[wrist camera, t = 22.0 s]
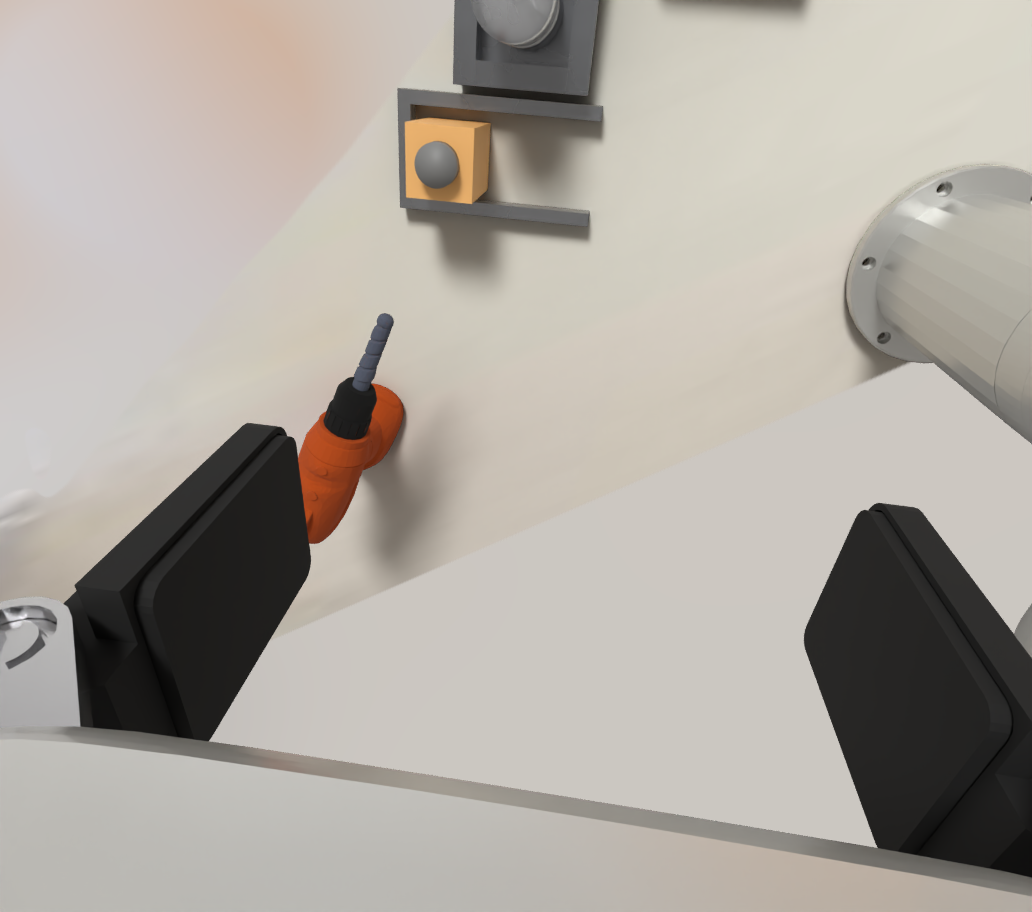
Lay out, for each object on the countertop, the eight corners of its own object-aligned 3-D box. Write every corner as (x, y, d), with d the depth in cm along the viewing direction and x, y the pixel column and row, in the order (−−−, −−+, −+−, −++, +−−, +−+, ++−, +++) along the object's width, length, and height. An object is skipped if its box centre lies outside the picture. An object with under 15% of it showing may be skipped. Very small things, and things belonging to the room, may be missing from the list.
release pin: (490, 122, 40) (471, 129, 34) (487, 189, 42) (468, 206, 36) (429, 117, 40) (400, 122, 34) (429, 183, 42) (401, 199, 36)
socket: (607, -72, 34) (608, -83, 32) (588, 95, 38) (587, 95, 36) (465, -82, 35) (456, -93, 32) (461, 84, 39) (453, 84, 37)
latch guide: (602, 106, 38) (602, 106, 37) (587, 223, 42) (587, 226, 41) (402, 88, 39) (397, 88, 38) (404, 204, 43) (400, 207, 42)
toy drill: (467, 278, 45) (414, 354, 32) (383, 466, 55) (316, 582, 42) (406, 246, 44) (327, 311, 32) (332, 442, 54) (248, 553, 41)
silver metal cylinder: (566, -31, 35) (558, -59, 28) (559, 53, 37) (549, 46, 30) (497, -36, 35) (471, -65, 28) (493, 48, 37) (468, 39, 30)
